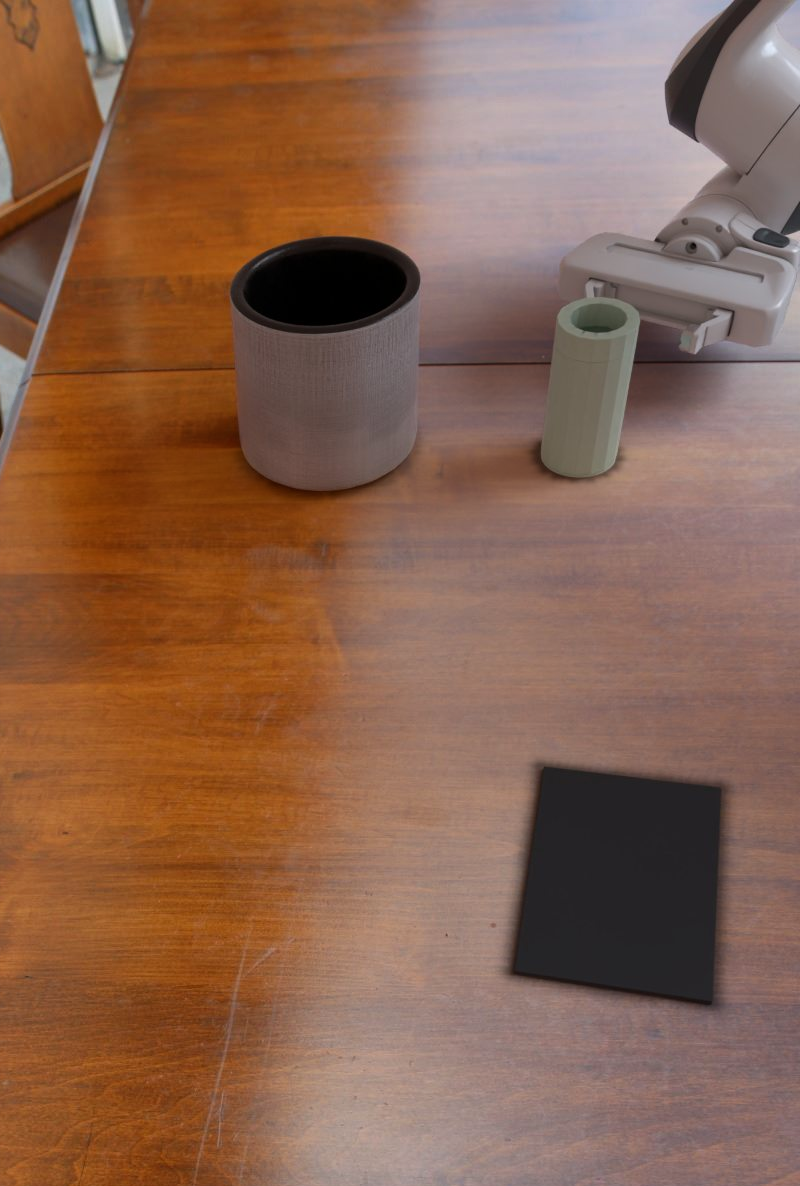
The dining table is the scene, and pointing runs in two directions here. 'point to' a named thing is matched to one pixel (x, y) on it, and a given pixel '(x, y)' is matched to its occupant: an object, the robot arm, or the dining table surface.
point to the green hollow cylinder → (588, 385)
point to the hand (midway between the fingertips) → (635, 331)
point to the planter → (327, 361)
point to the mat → (623, 885)
